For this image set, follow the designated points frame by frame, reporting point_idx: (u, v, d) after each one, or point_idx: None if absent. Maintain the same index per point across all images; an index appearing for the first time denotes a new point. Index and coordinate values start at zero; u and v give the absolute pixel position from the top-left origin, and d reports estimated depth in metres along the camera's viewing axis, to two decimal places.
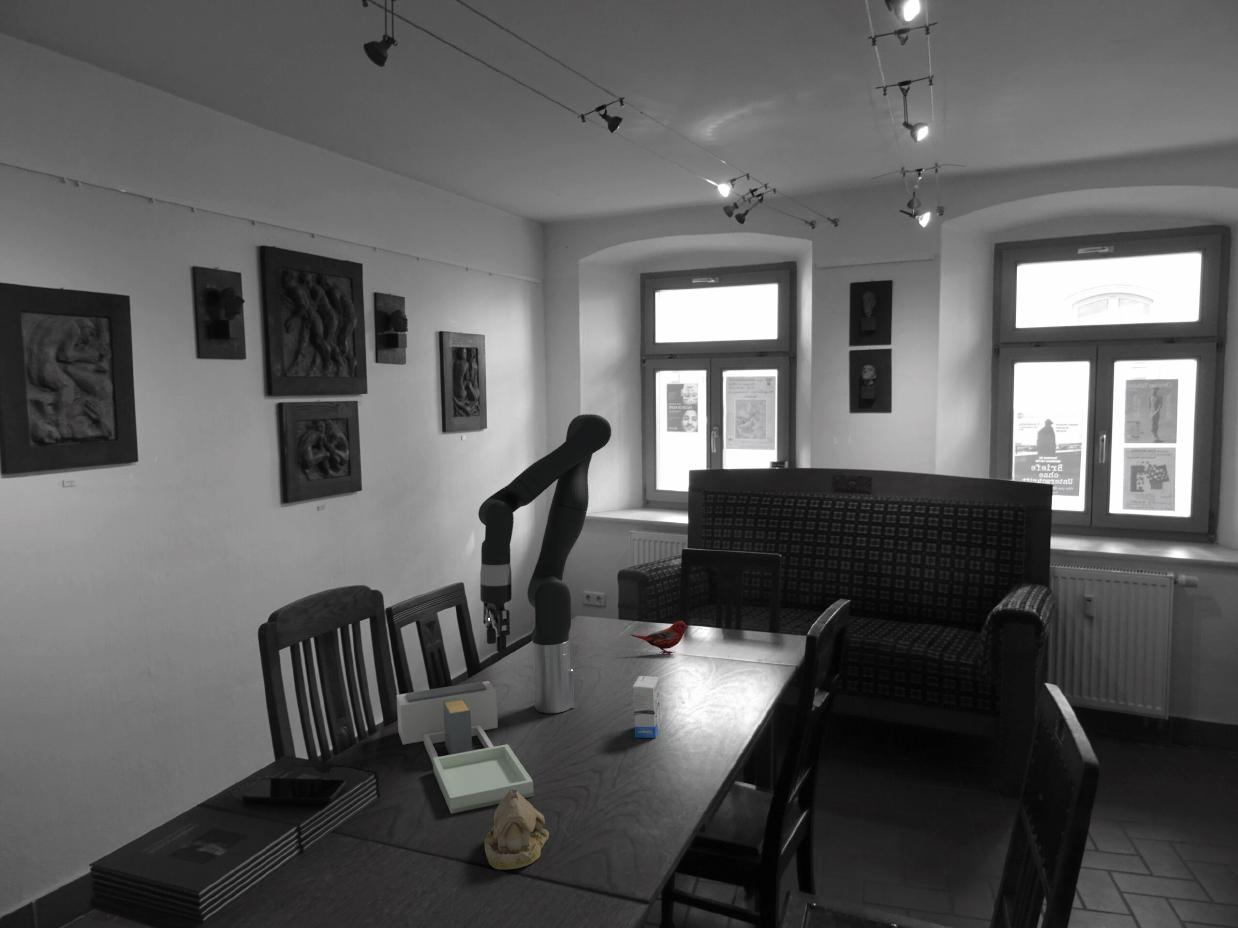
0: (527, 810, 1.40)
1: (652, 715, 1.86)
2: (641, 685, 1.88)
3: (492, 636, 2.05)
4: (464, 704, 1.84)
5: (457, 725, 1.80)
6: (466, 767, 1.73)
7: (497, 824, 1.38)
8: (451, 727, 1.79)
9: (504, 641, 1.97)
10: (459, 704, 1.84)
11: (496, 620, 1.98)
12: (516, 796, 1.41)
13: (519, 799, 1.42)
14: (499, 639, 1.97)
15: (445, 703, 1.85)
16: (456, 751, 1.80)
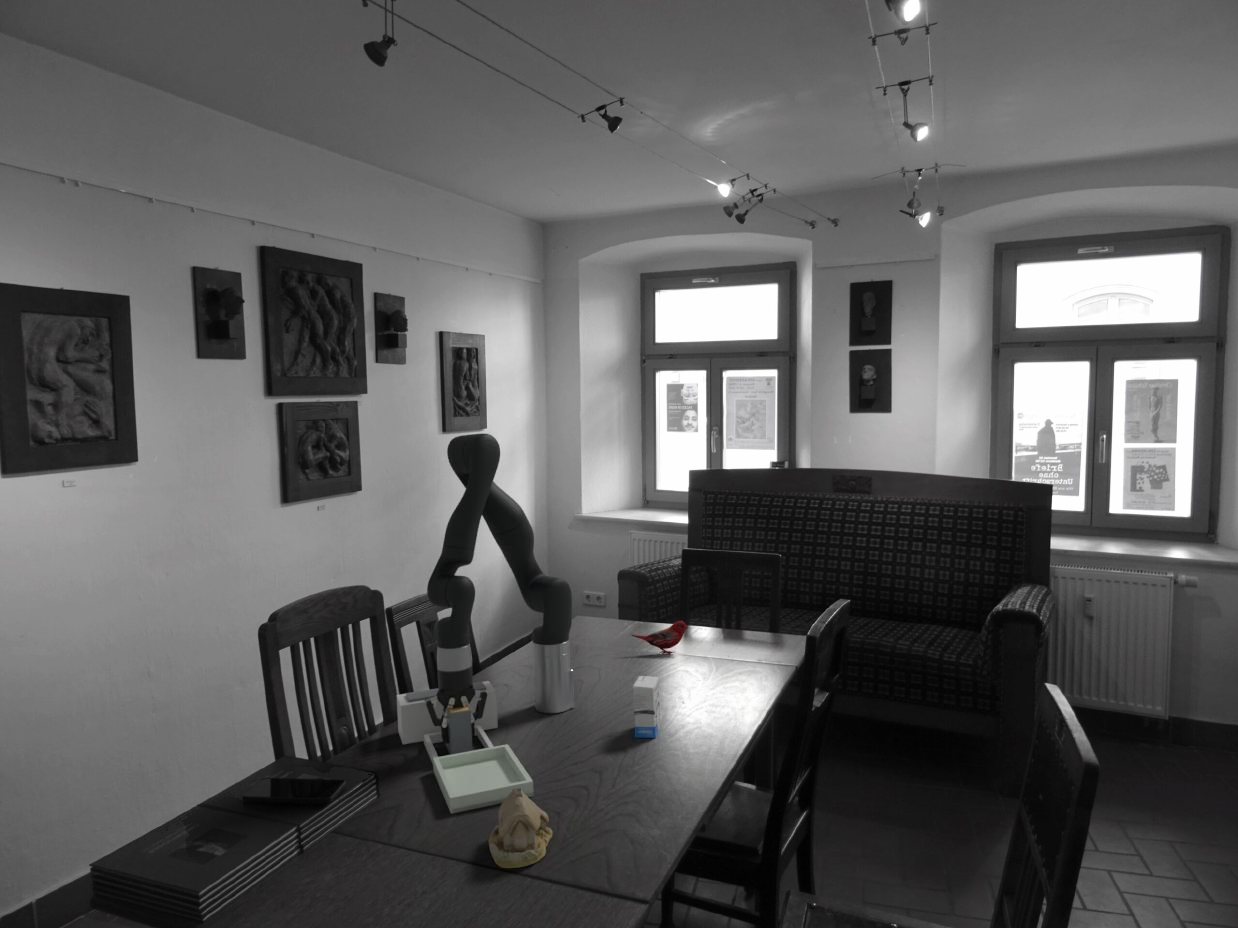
0: (532, 809, 1.41)
1: (652, 715, 1.86)
2: (641, 685, 1.88)
3: None
4: None
5: (457, 725, 1.79)
6: (466, 767, 1.73)
7: (502, 823, 1.39)
8: (451, 727, 1.79)
9: None
10: None
11: None
12: (521, 795, 1.41)
13: (523, 798, 1.42)
14: (472, 724, 1.84)
15: None
16: (456, 750, 1.80)
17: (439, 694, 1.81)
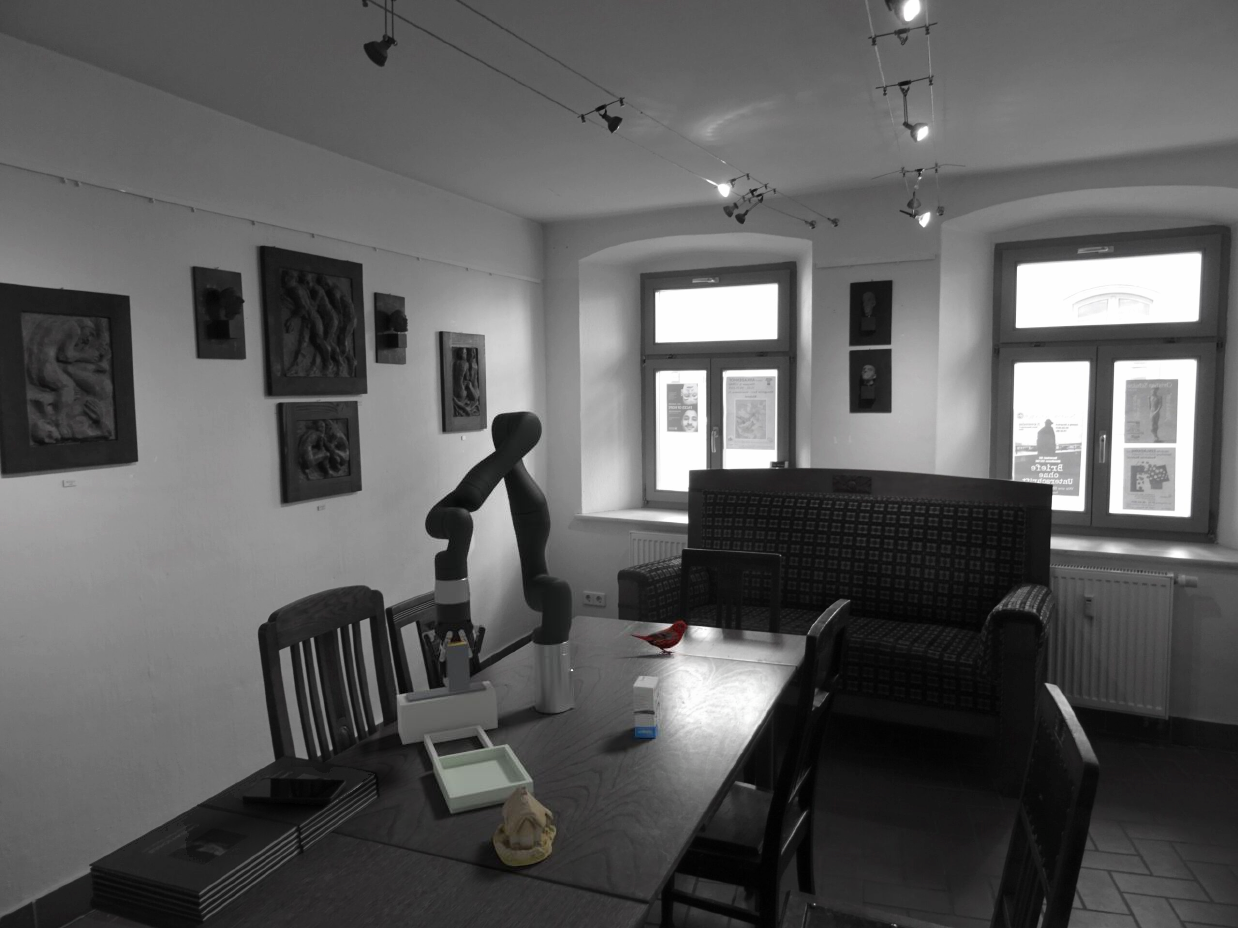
0: (537, 807, 1.42)
1: (652, 715, 1.86)
2: (641, 685, 1.88)
3: None
4: None
5: (455, 658, 1.77)
6: (466, 767, 1.73)
7: (509, 821, 1.39)
8: (448, 660, 1.77)
9: None
10: None
11: None
12: (526, 793, 1.42)
13: (528, 796, 1.43)
14: (470, 659, 1.82)
15: None
16: (453, 684, 1.77)
17: (436, 627, 1.78)
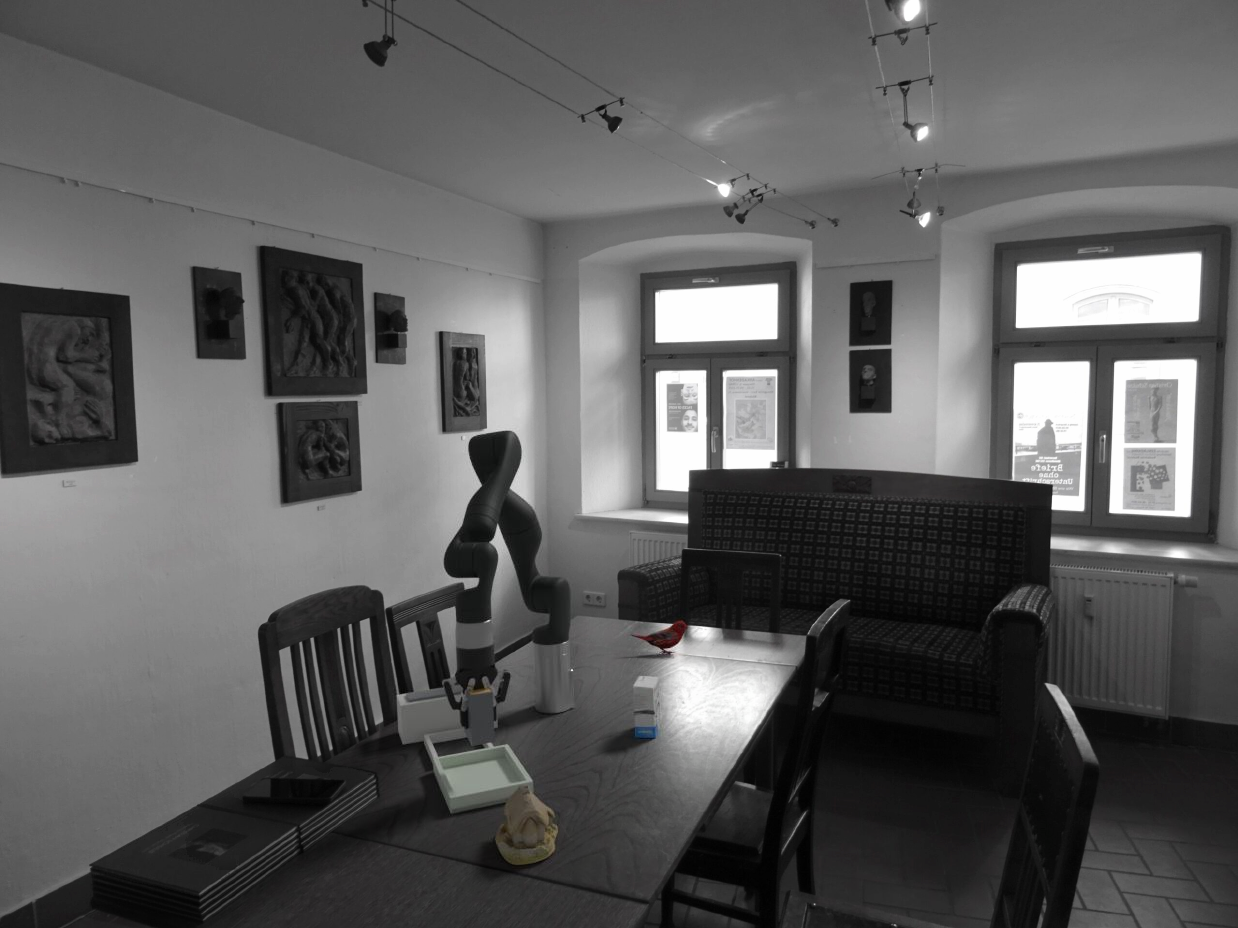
0: (540, 805, 1.42)
1: (652, 715, 1.86)
2: (641, 685, 1.88)
3: None
4: None
5: (478, 708, 1.62)
6: (466, 767, 1.73)
7: (512, 820, 1.39)
8: (471, 710, 1.61)
9: None
10: None
11: None
12: (528, 792, 1.42)
13: (531, 795, 1.43)
14: (494, 708, 1.66)
15: None
16: (476, 737, 1.62)
17: (458, 674, 1.63)
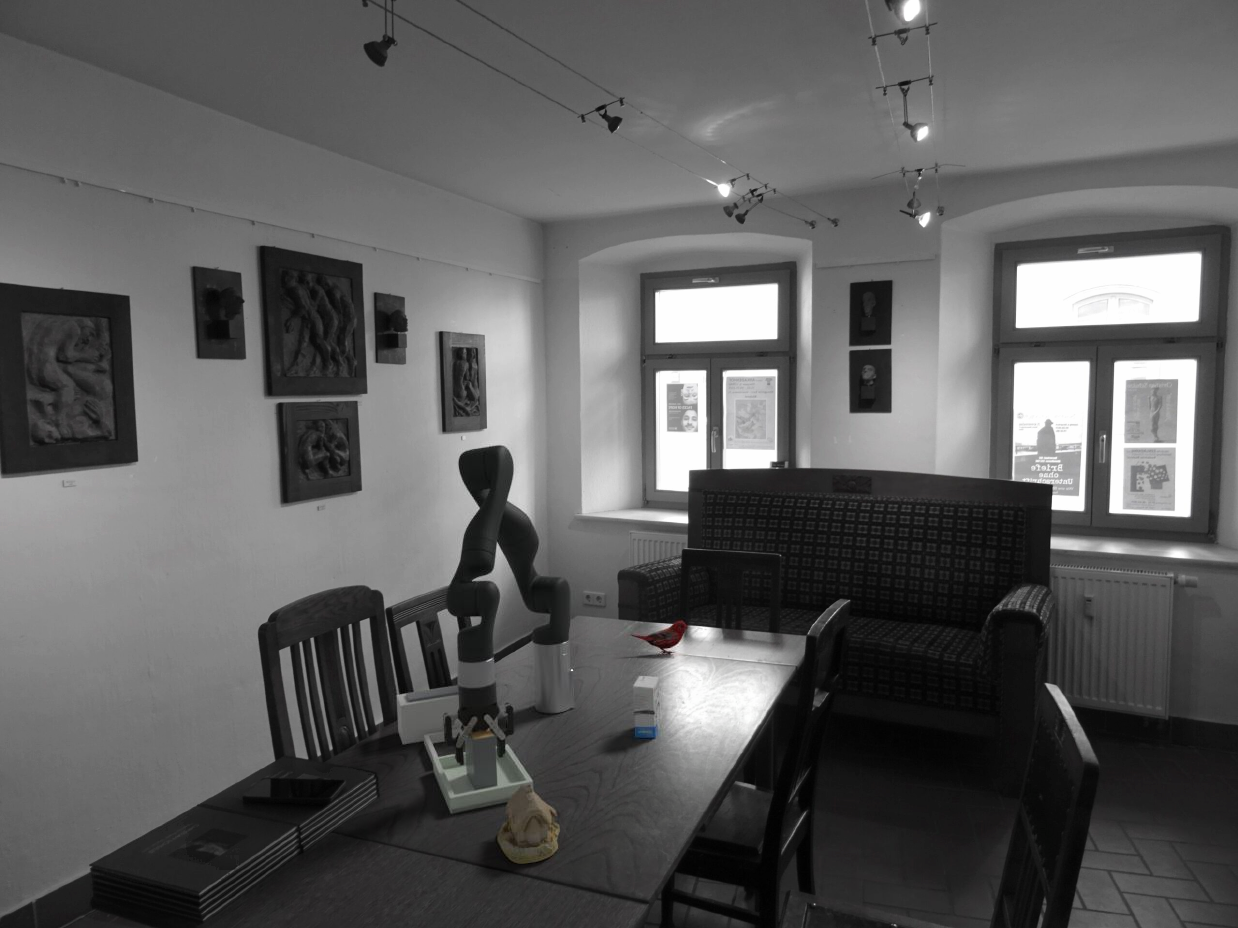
0: (543, 804, 1.43)
1: (652, 715, 1.86)
2: (641, 685, 1.88)
3: None
4: (488, 728, 1.67)
5: (481, 752, 1.62)
6: None
7: (515, 819, 1.40)
8: (474, 755, 1.62)
9: None
10: None
11: None
12: (531, 791, 1.43)
13: (533, 793, 1.44)
14: (503, 741, 1.67)
15: None
16: (479, 781, 1.62)
17: (461, 712, 1.64)
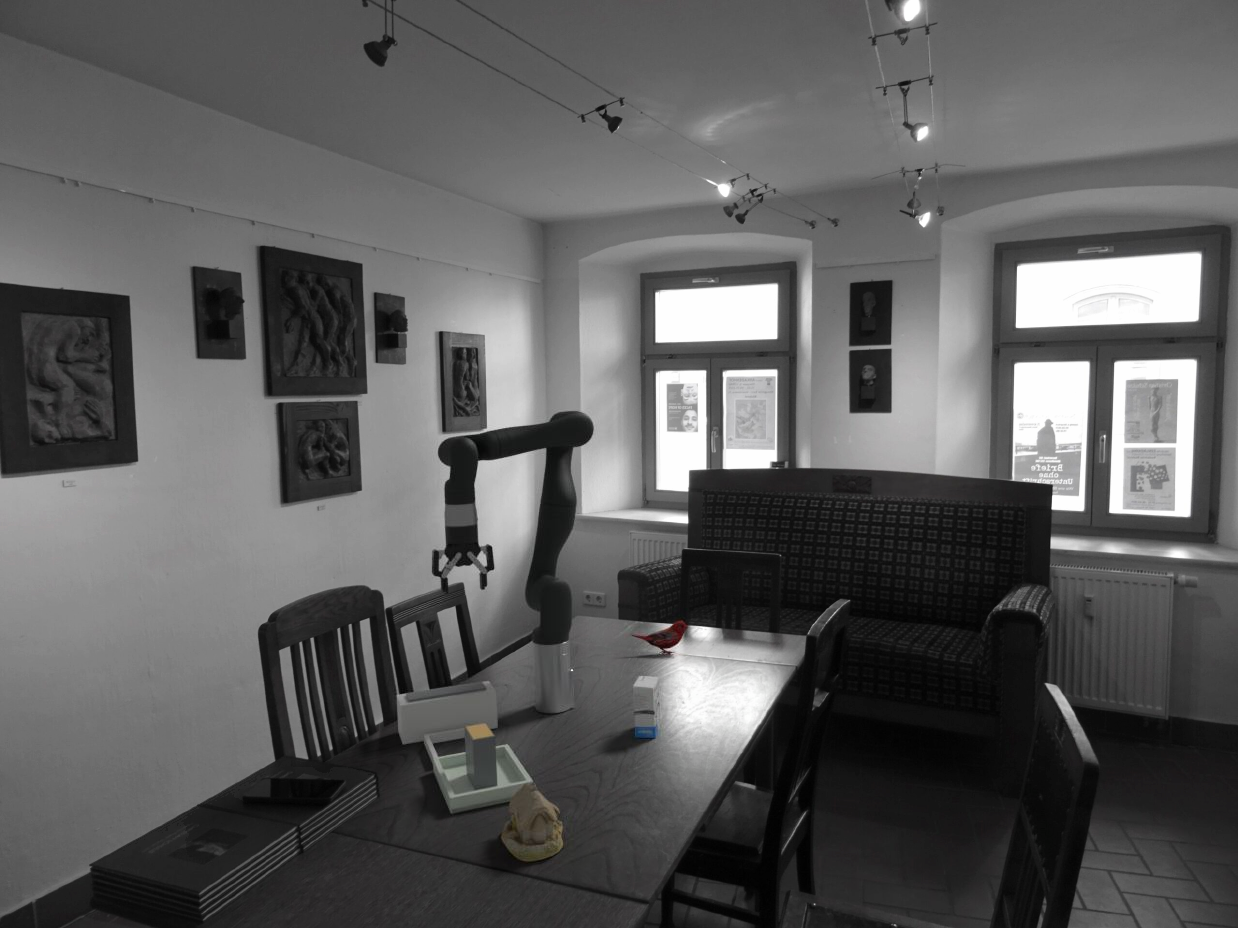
0: (547, 802, 1.43)
1: (652, 715, 1.86)
2: (641, 685, 1.88)
3: None
4: (488, 728, 1.67)
5: (481, 752, 1.62)
6: None
7: (521, 818, 1.40)
8: (474, 755, 1.62)
9: None
10: (482, 729, 1.67)
11: None
12: (535, 789, 1.43)
13: (537, 792, 1.44)
14: (485, 575, 1.95)
15: (466, 727, 1.68)
16: (479, 781, 1.62)
17: (448, 548, 1.91)
